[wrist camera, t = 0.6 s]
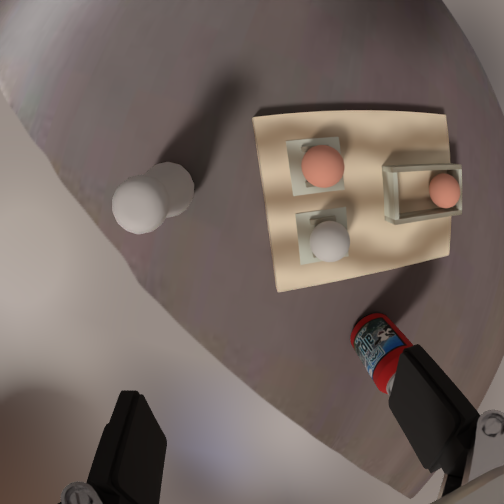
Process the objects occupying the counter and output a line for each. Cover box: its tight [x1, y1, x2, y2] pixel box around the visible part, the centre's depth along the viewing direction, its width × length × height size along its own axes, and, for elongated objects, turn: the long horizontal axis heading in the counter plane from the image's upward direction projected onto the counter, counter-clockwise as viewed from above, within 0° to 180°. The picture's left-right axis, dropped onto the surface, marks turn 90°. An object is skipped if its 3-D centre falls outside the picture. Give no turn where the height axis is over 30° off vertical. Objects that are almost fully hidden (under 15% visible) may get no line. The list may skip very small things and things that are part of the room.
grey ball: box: [310, 221, 350, 262], centre depth 30 cm, size 4×4×4 cm
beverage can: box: [351, 313, 413, 396], centre depth 34 cm, size 7×7×12 cm
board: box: [252, 110, 462, 292], centre depth 31 cm, size 20×26×4 cm
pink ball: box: [429, 173, 460, 208], centre depth 30 cm, size 4×4×4 cm
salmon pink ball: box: [301, 145, 345, 188], centre depth 28 cm, size 4×4×4 cm
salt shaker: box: [112, 162, 194, 234], centre depth 25 cm, size 6×6×13 cm
